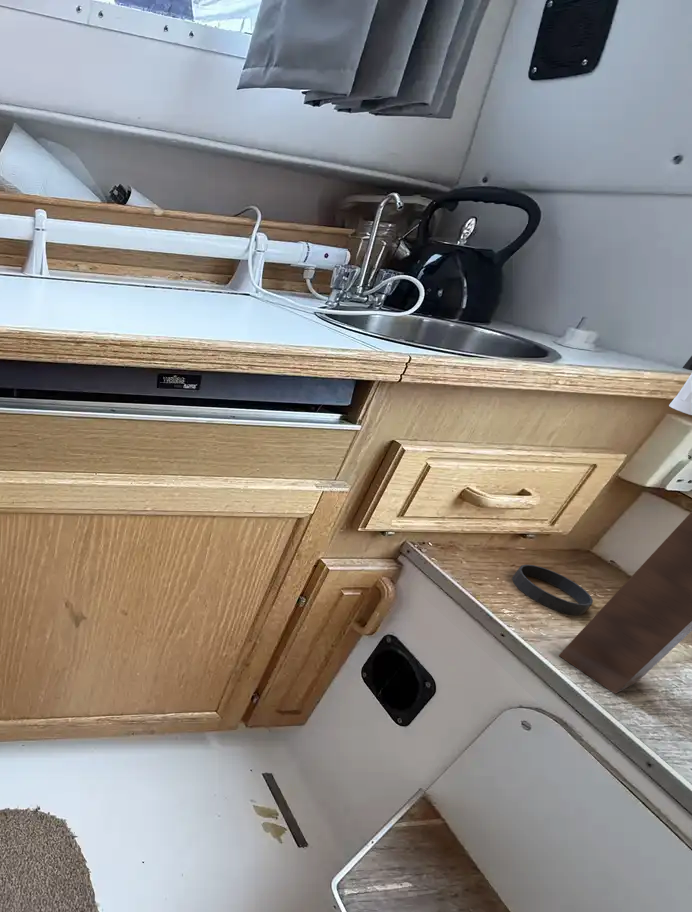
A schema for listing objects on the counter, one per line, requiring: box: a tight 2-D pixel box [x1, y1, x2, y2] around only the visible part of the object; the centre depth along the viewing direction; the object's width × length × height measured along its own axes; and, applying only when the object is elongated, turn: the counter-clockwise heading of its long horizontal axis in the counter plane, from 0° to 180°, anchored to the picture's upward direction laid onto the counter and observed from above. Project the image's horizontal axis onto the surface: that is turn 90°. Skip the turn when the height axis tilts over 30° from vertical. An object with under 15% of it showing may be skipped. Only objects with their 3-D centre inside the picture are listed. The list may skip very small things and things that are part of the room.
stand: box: [558, 511, 692, 695], centre depth 64 cm, size 6×6×32 cm
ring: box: [511, 564, 594, 616], centre depth 86 cm, size 9×9×2 cm
